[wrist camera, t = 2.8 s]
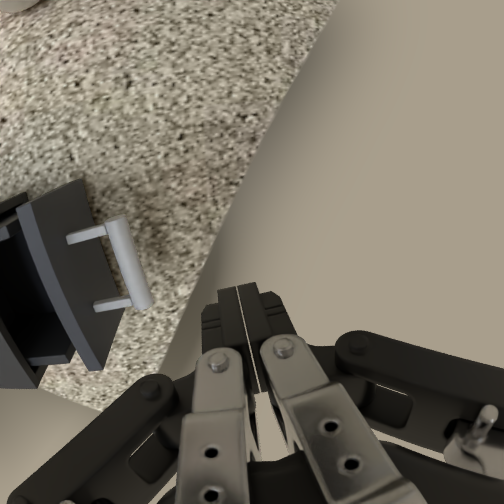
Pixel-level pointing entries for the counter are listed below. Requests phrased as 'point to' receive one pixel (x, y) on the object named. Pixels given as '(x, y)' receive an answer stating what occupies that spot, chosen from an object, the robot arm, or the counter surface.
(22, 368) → the grey handled drawer box
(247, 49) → the counter surface
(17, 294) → the cabinet drawer
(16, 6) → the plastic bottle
